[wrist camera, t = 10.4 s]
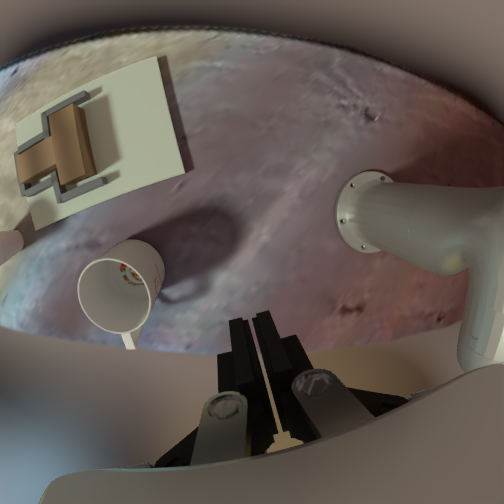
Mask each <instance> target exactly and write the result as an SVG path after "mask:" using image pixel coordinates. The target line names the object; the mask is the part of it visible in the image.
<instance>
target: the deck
mask: <svg viewBox="0 0 504 504" xmlns="http://www.w3.org/2000/svg"><path fill="white" fill-rule="evenodd" d="M72 103H73V104H75V105H77V106H78V107H80V108H82V109H84V110H85V116H86V122H87V128H88V133H89V139H90V144H91V149H92V153H93V158H94V162H95V167H96V171H97V175H95V176H92V177H90V178H88V179H85V180H83V181H81V182H79V183H76V184H74V185H60V180H59V176H58V171H54V172H52V173H50V175H48V176H46V177H44V178H42V179H41V180H39V181H37V182H35V183H23V184H20V182H19V176H18V170H17V164H16V158H15V157H17V156H18V155H20V154H21V153H23V152H25V151H26V150H28V149H29V148H31V147H33V146H34V145H36V144H38V143H40V142H41V141H43V140H45V139H47V138H48V137H50V136H51V131H50V124H49V116H50V115H52V114H53V113H55V112H57V111H59V110H61V109H63V108H65V107H66V106H68V105H70V104H72ZM15 128H16V138H17V146H18V151H16V152H15V153H14V159H15V165H16V171H17V177H18V182H19V187H20V192H21V196H22V197H23V196H26V197H27V201H28V205H29V209H30V213H31V217H32V220H33V224H34V227H35V231H37V230H39V229H42V228H44V227H46V226H48V225H50V224H52V223H54V222H57V221H59V220H61V219H63V218H66V217H68V216H70V215H73V214H75V213H77V212H80V211H82V210H84V209H87V208H89V207H92V206H94V205H97V204H99V203H102V202H104V201H107V200H109V199H112V198H115V197H117V196H120V195H123V194H125V193H128V192H131V191H134V190H136V189H139V188H142V187H145V186H148V185H151V184H154V183H157V182H160V181H163V180H166V179H169V178H172V177H175V176H179V175H182V174H185V169H184V165H183V161H182V158H181V154H180V150H179V146H178V142H177V139H176V135H175V131H174V127H173V123H172V119H171V115H170V111H169V106H168V102H167V98H166V94H165V90H164V85H163V81H162V76H161V72H160V68H159V63H158V59H157V56H154V57H151V58H148V59H145V60H142V61H139V62H137V63H134V64H131V65H128V66H126V67H123V68H121V69H118V70H116V71H113V72H111V73H108V74H106V75H104V76H101V77H99V78H97V79H95V80H92V81H90V82H88V83H86V84H84V85H82V86H80V87H78V88H76V89H74V90H72V91H70V92H68V93H66V94H64V95H63V96H61V97H59V98H57V99H55V100H53V101H52V102H50V103H48V104H47V105H45V106H43V107H42V108H40V109H38V110H37V111H35V112H33V113H32V114H30V115H29V116H27V117H26V118H24V119H23V120H21V121H20V122H18V123H17V124H15Z"/></svg>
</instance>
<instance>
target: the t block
mask: <svg viewBox="0 0 504 504" xmlns="http://www.w3.org/2000/svg"><path fill="white" fill-rule="evenodd" d="M49 124H50V131H51V136H50V137H48V138H47V139H45V140H43V141H41V142H40V143H38V144H36V145H34V146H33V147H31V148H29V149H28V150H26V151H25V152H23V153H21V154H20V155H18V156H17V157H15V158H16V164H17V170H18V176H19V182H20V184H23V183H35V182H37V181H39V180H41V179H42V178H44V177H46V176H48V175H50V173H52V172H54V171H58V176H59V180H60V185H74V184H76V183H79V182H81V181H83V180H85V179H88V178H90V177H92V176H95V175H97V171H96V167H95V162H94V158H93V153H92V149H91V144H90V139H89V133H88V128H87V122H86V116H85V110H84V109H82V108H80V107H78V106H77V105H75V104H73V103H72V104H70V105H68V106H66V107H65V108H63V109H61V110H59V111H57V112H55V113H53V114H52V115H50V116H49Z"/></svg>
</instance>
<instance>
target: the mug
mask: <svg viewBox="0 0 504 504" xmlns="http://www.w3.org/2000/svg"><path fill="white" fill-rule="evenodd" d="M164 278H165V268H164V263H163V261H162V258H161V256H160V255H159V253H158V252H157V251H156V250H155V249H154V248H153V247H152V246H151V245H149V244H148V243H146V242H144V241H141V240H135V239H130V240H125V241H122V242H120V243H118V244H116V245H115V246H114V247H112V248H111V249H109V250H108V251H106V252H105V253H104V254H102V255H101V256H99V257H98V258H97V259H95V260H94V261H93V262H91V263H90V264H89V265H87V266H86V268H85V269H84V270H83V272H82V273H81V275H80V278H79V281H78V297H79V301H80V304H81V307H82V309H83V311H84V312H85V314H86V315H87V317H88V318H89V319H90V320H91V321H92V322H93V323H94V324H95V325H97V326H98V327H100V328H101V329H103V330H106V331H108V332H111V333H117V334H121V335H122V339H123V341H124V343H125V346H126V349H136V346H137V343H138V341H139V338H140V335H141V332H142V330H143V324H144V323H145V322H146V320H147V319H148V317H149V315H150V312H151V310H152V308H153V305H154V303H155V301H156V298H157V296H158V294H159V292H160V289H161V287H162V285H163V282H164Z"/></svg>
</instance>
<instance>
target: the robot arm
mask: <svg viewBox="0 0 504 504" xmlns="http://www.w3.org/2000/svg"><path fill="white" fill-rule="evenodd" d="M350 184H351V186H350ZM335 220H336V225H337V228H338V231H339V233H340V235H341V237H342V238H343V240H344V241H345V242H346V243H347V244H348V245H349V246H350V247H352V248H354V249H356V250H357V251H360V252H363V253H376V252H379V251H382V250H383V251H385V252H388V253H390V254H392V255H394V256H396V257H399V258H401V259H403V260H405V261H407V262H410V263H412V264H414V265H416V266H418V267H420V268H423V269H425V270H427V271H429V272H432V273H434V274H438V275H451V274H455V273H457V272H460V271H462V270H464V269H466V268H467V267H469V279H468V291H467V297H466V303H465V308H464V314H463V319H462V324H461V328H460V333H459V338H458V344H457V359H458V362H459V365H460V367H461V369H462V370H463V372H464V374H462V375H460V376H458V377H456V378H454V379H451V380H450V381H448V382H446V383H444V384H441V385H438V386H435V387H432V388H429V389H427V390H424V391H420V392H417V393H414V394H411V396H410V398H408V399H405V398H404V397H400V396H395V395H389V394H382V393H376V392H370V391H364V390H358V389H353V388H348V387H346V386H345V385H344V384H343V383H342V382H341V381H340V380H339V379H338V378H337V376H336V375H335V374H333V373H332V372H331V371H328V370H325V369H314V368H313V366H312V364H311V362H310V361H309V359H308V357H307V355H306V353H305V351H304V349H303V347H302V345H301V343H300V341H299V339H298V337H297V336H296V335H292V336H288V337H285V338H281V339H280V336H279V334H278V331H277V329H276V326H275V324H274V322H273V319H272V317H271V314H270V312H269V310H268V311H264V312H261V313H257V314H256V316H257V317H255V318H252V321H253V325H254V328H255V332H256V336H257V339H258V343H259V347H260V351H261V354H262V358H263V362H264V365H265V369H266V373H267V376H268V379H269V383H270V387H271V391H272V394H273V398H274V401H275V405H276V408H277V412H278V415H279V419H280V423H281V426H282V430H283V432H286V431H289V432H290V436H291V438H296V439H298V440H301V441H303V444H301V445H298V446H294V447H290V448H287V449H283V450H279V451H275V452H271V453H267V451H266V450H267V449H268V448H269V447H270V445H271V444H272V443H274V442H275V441H274V437H273V435H274V434H278V430H277V426H276V422H275V418H274V415H273V411H272V407H271V403H270V399H269V396H268V392H267V388H266V384H265V380H264V376H263V373H262V369H261V365H260V362H259V358H258V355H257V351H256V347H255V344H254V340H253V337H252V333H251V329H250V326H249V322H248V319H247V320H243V319H242V317H241V318H237V319H233V320H229V327H230V337H231V346H232V351H231V352H226V353H222V354H218V355H217V364H218V391H219V394H216V395H214V396H213V397H211V398H210V399H209V400H208V401H207V402H206V403H205V405H204V407H203V410H202V414H201V419H200V424H199V426H198V427H197V428H196V429H195V430H194V431H192V432H191V433H190V434H189V435H188V436H186V437H185V438H184V439H183V440H182V441H180V442H179V443H178V444H177V445H175V446H174V447H173V448H172V449H171V450H169V451H168V452H167V453H166V454H164V455H163V456H162V457H161V458H160V459H159V460H158V461H157V462H156V464H154V465H151V464H150V463H144V464H140V465H135V466H129V467H124V468H118V469H93V470H85V471H78V472H74V473H69V474H66V475H63V476H61V477H58V478H56V479H55V480H54V481H52V482H51V483H50V484H49V485H48V487H47V488H46V490H45V492H44V493H43V495H42V497H41V499H40V502H39V504H504V186H500V187H485V188H467V187H451V186H440V185H428V184H414V183H398V182H394V181H393V180H392V179H391V178H390V177H388V176H387V175H385V174H383V173H380V172H375V171H366V172H361V173H358V174H356V175H354V176H353V177H351V178H350V179H349V180H348V181H347V182H346V183H345V184H344V185H343V187H342V189H341V190H340V192H339V195H338V197H337V200H336V206H335ZM341 220H342V221H341ZM340 221H341V222H340ZM361 246H362V247H361Z"/></svg>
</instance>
